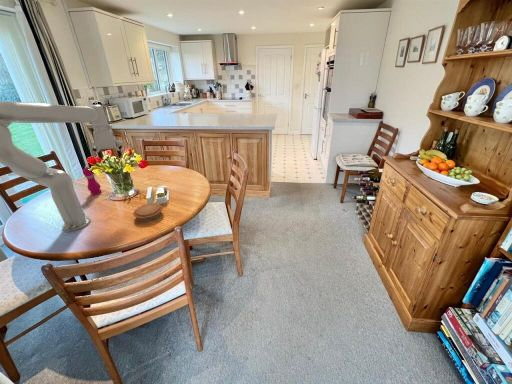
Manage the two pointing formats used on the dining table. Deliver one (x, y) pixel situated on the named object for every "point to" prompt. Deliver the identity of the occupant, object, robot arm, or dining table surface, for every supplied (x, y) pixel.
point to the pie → (148, 211)
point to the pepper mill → (92, 182)
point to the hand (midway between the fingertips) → (110, 157)
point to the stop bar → (161, 191)
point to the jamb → (158, 199)
